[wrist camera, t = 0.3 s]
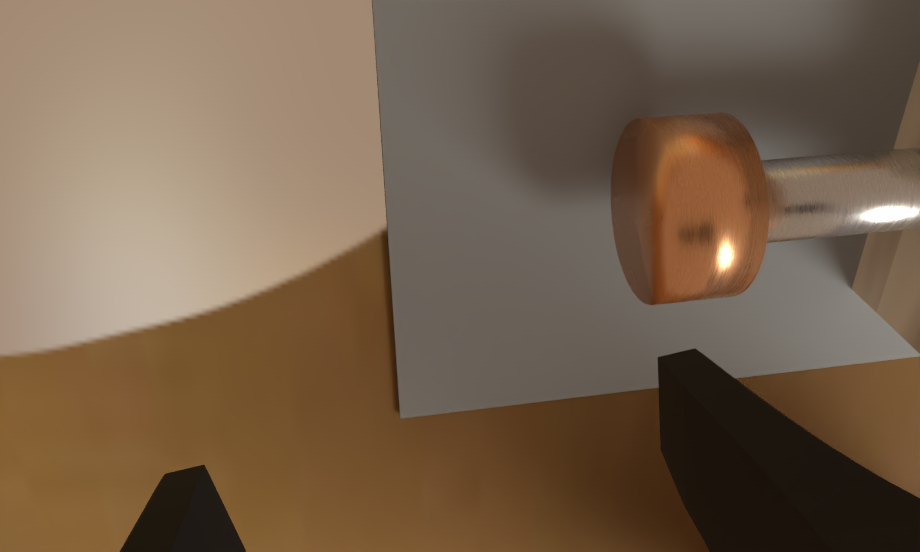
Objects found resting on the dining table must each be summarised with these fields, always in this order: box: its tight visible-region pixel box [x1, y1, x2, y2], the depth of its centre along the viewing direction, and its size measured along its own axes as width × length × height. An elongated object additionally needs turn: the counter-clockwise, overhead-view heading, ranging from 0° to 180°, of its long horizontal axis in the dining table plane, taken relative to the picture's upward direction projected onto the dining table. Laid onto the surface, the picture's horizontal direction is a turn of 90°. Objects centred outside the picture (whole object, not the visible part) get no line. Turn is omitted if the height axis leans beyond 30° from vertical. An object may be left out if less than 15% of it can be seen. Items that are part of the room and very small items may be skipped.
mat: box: [372, 0, 920, 419], centre depth 22 cm, size 24×16×1 cm, turn 91°
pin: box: [611, 112, 920, 305], centre depth 20 cm, size 10×4×4 cm, turn 91°
